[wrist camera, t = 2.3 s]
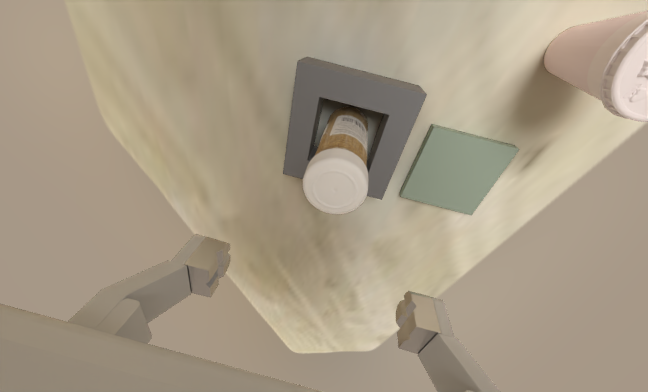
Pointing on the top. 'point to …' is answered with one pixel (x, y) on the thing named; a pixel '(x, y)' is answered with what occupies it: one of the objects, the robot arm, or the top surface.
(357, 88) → the socket block
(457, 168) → the rubber mat
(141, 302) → the robot arm
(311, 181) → the sprinkles bottle
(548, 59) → the smoothie
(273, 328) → the top surface
